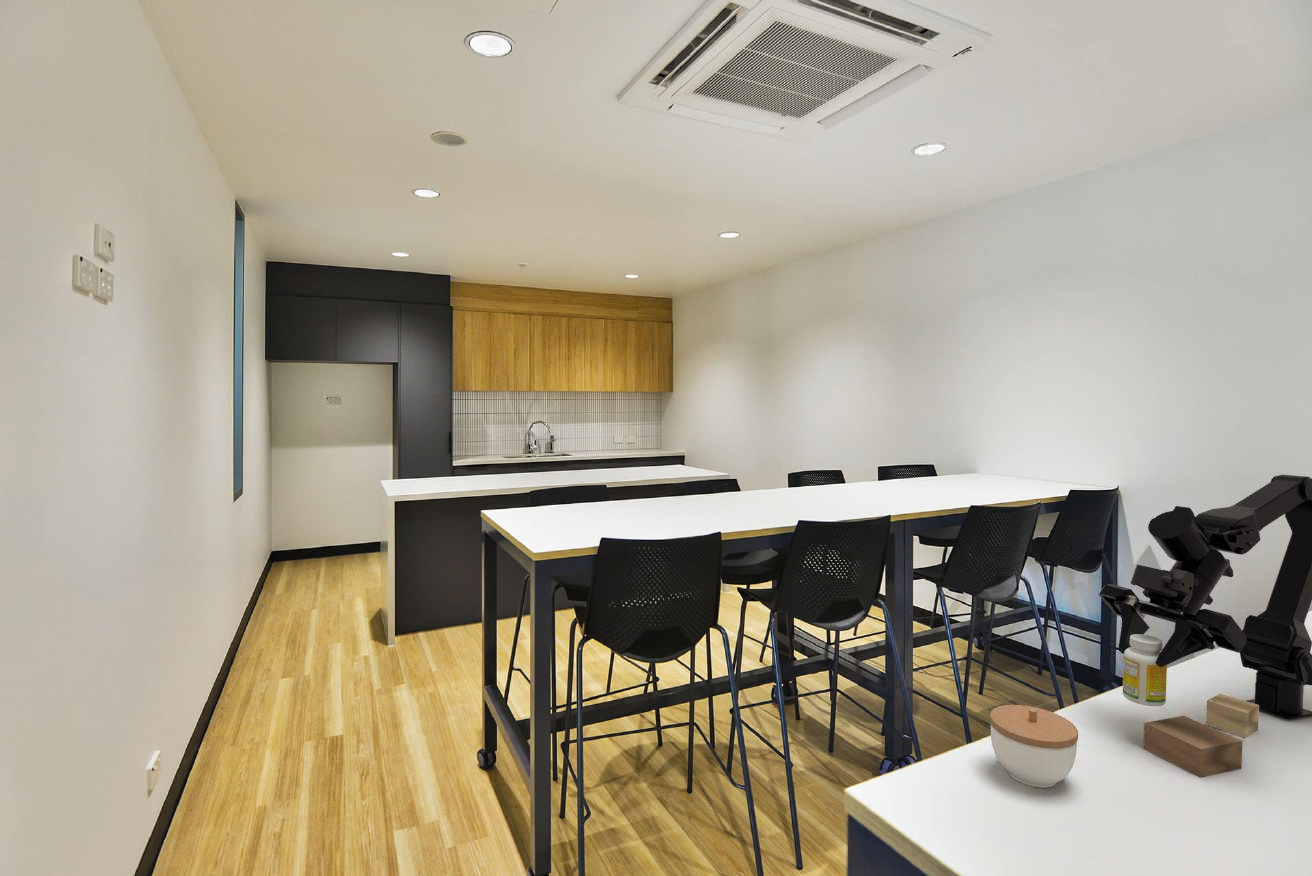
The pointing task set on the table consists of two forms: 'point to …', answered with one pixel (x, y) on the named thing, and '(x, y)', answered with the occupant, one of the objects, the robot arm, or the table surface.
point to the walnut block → (1193, 745)
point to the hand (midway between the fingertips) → (1138, 658)
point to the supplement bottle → (1144, 671)
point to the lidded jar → (1033, 744)
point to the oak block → (1232, 715)
